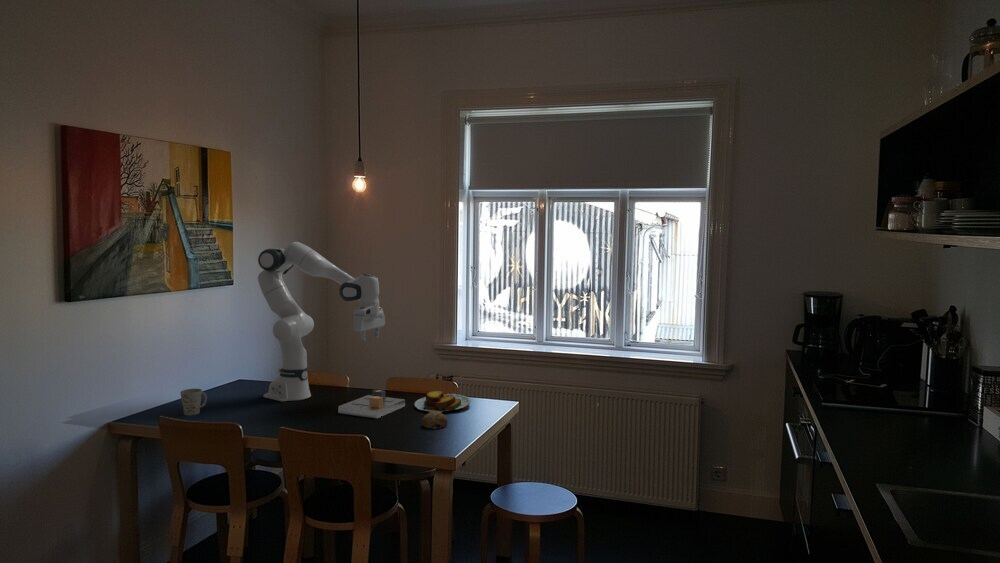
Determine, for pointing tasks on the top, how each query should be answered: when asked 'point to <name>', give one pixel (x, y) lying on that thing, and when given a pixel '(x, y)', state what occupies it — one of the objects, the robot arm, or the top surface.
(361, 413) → the mixing panel
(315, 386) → the top surface
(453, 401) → the food on plate
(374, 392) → the black fader
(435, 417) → the bread roll
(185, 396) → the mug
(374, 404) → the orange fader
